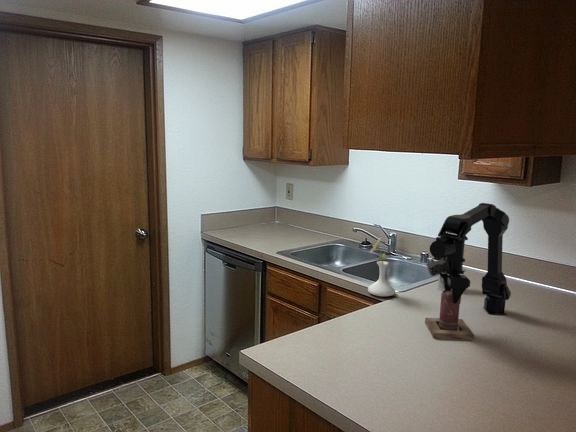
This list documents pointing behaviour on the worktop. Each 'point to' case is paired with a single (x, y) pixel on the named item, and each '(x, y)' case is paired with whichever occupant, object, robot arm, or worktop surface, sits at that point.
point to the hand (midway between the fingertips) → (450, 298)
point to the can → (448, 312)
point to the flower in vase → (381, 277)
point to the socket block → (461, 334)
